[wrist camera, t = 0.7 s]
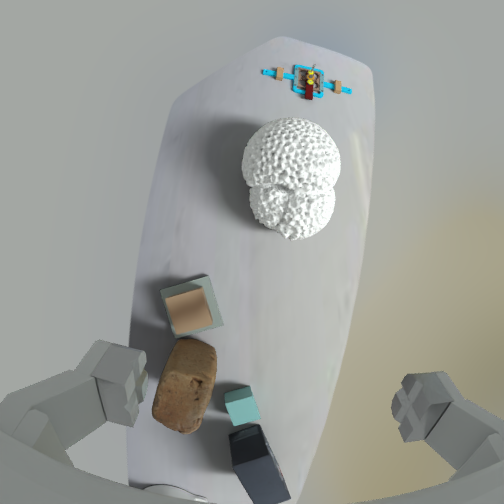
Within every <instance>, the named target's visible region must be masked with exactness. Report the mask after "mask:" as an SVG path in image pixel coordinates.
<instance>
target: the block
mask: <svg viewBox="0 0 504 504" xmlns="http://www.w3.org/2000/svg"><path fill="white" fill-rule="evenodd" d="M216 372H217V356H216V351H215V349H214V347H212V346H210V345H208V344H206V343H204V342H201V341H198V340H195V339H180V340H178V341H177V343H176V345H175V346H174V348H173V350H172V352H171V354H170V356H169V358H168V361H167V363H166V365H165V368H164V370H163V372H162V375H161V378H160V380H159V383H158V386H157V390H156V394H155V398H154V401H153V406H152V416H153V418H154V419H155V420H157V421H158V422H160V423H162V424H163V425H164V426H166V427H168V428H170V429H172V430H174V431H177V430H178V431H179V432H180V433H182V434H190V433H192V432H194V431H196V430H197V429H198V428H199V426H200V425H201V423H202V419H203V415H204V413H205V410H206V408H207V406H208V404H209V401H210V398H211V396H212V391H213V387H214V383H215V379H216Z"/></svg>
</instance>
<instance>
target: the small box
mask: <svg viewBox="0 0 504 504" xmlns="http://www.w3.org/2000/svg"><path fill="white" fill-rule="evenodd" d="M228 436H229V440H230V449H231V457H232V468H233V469H234V471H235V473H236V475H237V476H238V478H239V480H240V481H241V483H242V485H243V487H244V488H245V490H246V492H247V493H248V495H249V497H250V498H251V500H252V501H253V503H254V504H278V503H282V502H285V501H287V500H290V499H291V497H290V494H289V492H288V489H287V486H286V483H285V481H284V478H283V475H282V473H281V470H280V467H279V465H278V463H277V461H276V459H275V456H274V454H273V452H272V450H271V448H270V446H269V444H268V442H267V439H266V437H265V435H264V433H263V431H262V428H261V426H260V425H256V426H253V427H250V428H247V429H244V430H241V431H238V432H235V433H232V434H229V435H228Z"/></svg>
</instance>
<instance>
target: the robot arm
mask: <svg viewBox="0 0 504 504" xmlns="http://www.w3.org/2000/svg"><path fill="white" fill-rule="evenodd" d="M146 362H147V360H146V353H145V352H144V351H142V350H138V349H134V348H130V347H126V346H122V345H118V344H113V343H110V342H105V341H102V340H98V341H96V342H95V343H94V344H93V345H92V347H91V348H90V350H89V351H88V352H87V354H86V355H85V356H84V358H83V359H82V360H81V362H80V363H79V365H78V366H77V367H76V369H75V370H74V371H72V370H68V371H66V372H63V373H61V374H58V375H56V376H53V377H51V378H48V379H46V380H43V381H41V382H38V383H36V384H33V385H30V386H28V387H25V388H23V389H20V390H18V391H15V392H12V393H10V394H8V395H7V396H6V397H5V398H4V400H3V401H2V402H1V403H0V504H215V503H208V500H207V499H206V498H204V497H201V496H197V495H193V494H190V493H189V492H187V491H185V490H182V489H180V488H177V487H173V486H168V485H154V486H150V487H147V488H145V489H144V490H141V489H137V488H134V487H130V486H127V485H123V484H120V483H117V482H113V481H110V480H107V479H104V478H101V477H98V476H96V475H93V474H90V473H87V472H85V471H82V470H79V469H77V468H75V467H74V465H73V463H72V462H71V460H70V458H69V456H68V455H67V453H66V451H65V450H66V449H68V448H69V447H71V446H72V445H73V444H75V443H77V442H78V441H80V440H81V439H83V438H84V437H85V436H87V435H88V434H90V433H91V432H93V431H94V430H96V429H97V428H99V427H100V426H101V425H103V424H104V423H106V421H110V422H114V423H117V424H121V425H125V426H129V427H133V426H134V424H135V421H136V419H137V416H138V414H139V407H138V404H139V403H141V402H143V401H144V398H145V396H146V392H147V387H148V373H147V371H146V370H145V369H144V366H145V364H146ZM401 384H402V388H401V389H400V390H399V391H398V392H396V394H395V396H394V398H393V400H392V406H391V409H392V414H393V417H394V419H395V420H397V421H398V422H400V425H399V428H398V429H399V431H400V433H401V436H402V438H403V441H404V442H412V441H419V440H425V442H426V443H427V444H428V445H429V446H430V447H432V448H433V449H434V450H435V451H436V452H437V453H438V454H439V455H440V456H441V457H443V458H444V459H445V460H446V461H447V462H448V463H449V464H450V465H451V466H452V467H454V468H455V469H456V470H457V472H456V473H455V474H454V475H453V476H451V478H450V479H449V481H448V482H446V483H442V484H439V485H436V486H433V487H429V488H426V489H422V490H418V491H414V492H410V493H406V494H401V495H397V496H392V497H387V498H382V499H376V500H371V501H364V502H357V503H349V504H504V420H502V419H500V418H498V417H497V416H495V415H493V414H492V413H490V412H488V411H487V410H485V409H483V408H482V407H480V406H478V405H476V404H475V403H473V402H471V401H470V400H465V399H464V398H463V396H462V395H461V393H460V392H459V390H458V389H457V388H456V386H455V385H454V383H453V382H452V380H451V379H450V377H449V376H448V375H447V373H445V372H444V371H438V372H431V373H414V374H407V375H406V376H405V377H404V379H403V381H402V382H401Z"/></svg>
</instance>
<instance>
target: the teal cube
mask: <svg viewBox="0 0 504 504" xmlns="http://www.w3.org/2000/svg"><path fill="white" fill-rule="evenodd" d="M224 395H225V405H226V408H227V410H228V413H229V415H230V418H231V420H232V423H233V425H234V426H237V425H241V424H244V423H248V422H251V421H255V420H258V419H261V418H260V414H259V411H258V408H257V405H256V402H255V399H254V396H253V393H252V391H251V388H250V386H248V387H244V388H241V389H237V390H234V391H230V392H227V393H224Z"/></svg>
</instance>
